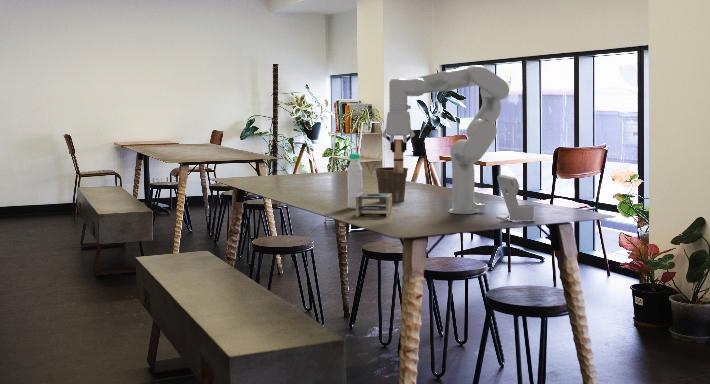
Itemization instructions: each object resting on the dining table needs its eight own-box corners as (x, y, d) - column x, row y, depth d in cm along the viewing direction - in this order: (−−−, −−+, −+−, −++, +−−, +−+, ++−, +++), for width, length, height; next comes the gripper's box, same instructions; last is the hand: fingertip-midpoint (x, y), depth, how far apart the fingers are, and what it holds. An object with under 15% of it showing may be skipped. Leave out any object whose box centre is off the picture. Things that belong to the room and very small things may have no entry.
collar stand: (392, 212, 367) (391, 193, 366) (388, 216, 355) (388, 196, 354) (360, 212, 369) (360, 193, 369) (356, 216, 358) (355, 196, 357)
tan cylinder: (404, 172, 355) (403, 139, 354) (403, 173, 351) (403, 139, 349) (394, 172, 356) (394, 139, 354) (393, 173, 352) (393, 139, 350)
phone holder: (536, 221, 334) (536, 176, 332) (512, 223, 331) (513, 177, 329) (517, 216, 351) (517, 173, 349) (495, 217, 348) (495, 174, 346)
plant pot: (415, 201, 405) (415, 168, 403) (388, 204, 396) (388, 170, 394) (395, 198, 418) (394, 166, 417) (368, 201, 409) (368, 168, 408)
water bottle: (354, 206, 391) (353, 153, 388) (366, 207, 386) (365, 153, 384) (344, 208, 386) (343, 154, 383) (356, 209, 381) (355, 154, 378)
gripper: (418, 108, 353) (418, 151, 355) (379, 108, 355) (379, 151, 357) (417, 108, 346) (417, 152, 348) (377, 108, 348) (377, 152, 350)
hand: (398, 151), depth 352 cm, fingers closed on tan cylinder, 4 cm apart
